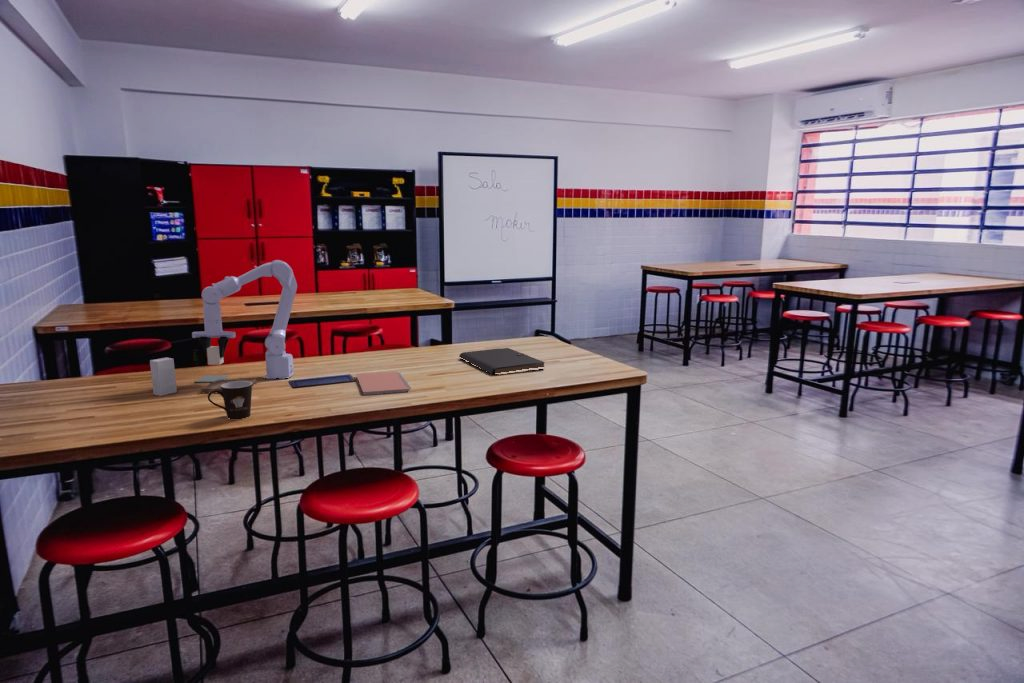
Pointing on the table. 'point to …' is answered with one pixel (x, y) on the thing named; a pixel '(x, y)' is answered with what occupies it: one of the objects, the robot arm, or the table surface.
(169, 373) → the skincare box
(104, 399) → the table surface
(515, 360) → the dark hardcover book
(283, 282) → the robot arm
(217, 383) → the puzzle board
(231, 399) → the coffee mug
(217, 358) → the cream block
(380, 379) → the notebook
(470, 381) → the table surface
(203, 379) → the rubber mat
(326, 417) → the table surface
